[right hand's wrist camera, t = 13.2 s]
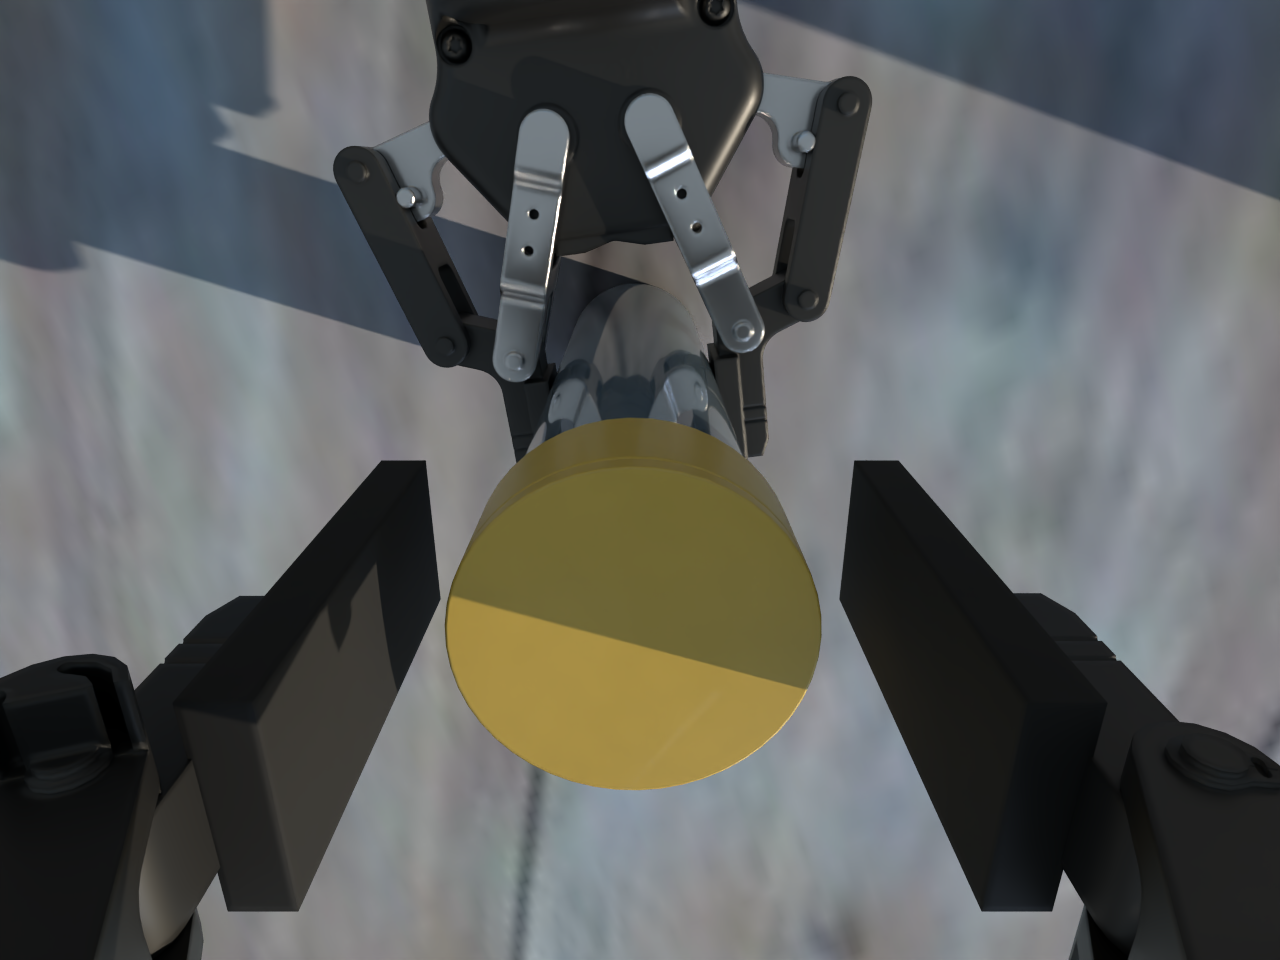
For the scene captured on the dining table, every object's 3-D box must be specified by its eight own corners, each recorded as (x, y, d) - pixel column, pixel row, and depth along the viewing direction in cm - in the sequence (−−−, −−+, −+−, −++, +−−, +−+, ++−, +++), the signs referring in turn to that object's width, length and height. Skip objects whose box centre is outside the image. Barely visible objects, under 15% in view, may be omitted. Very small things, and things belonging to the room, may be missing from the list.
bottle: (620, 256, 28) (592, 409, 10) (724, 333, 29) (861, 594, 11) (547, 361, 29) (411, 656, 12) (648, 431, 30) (666, 801, 13)
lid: (594, 348, 12) (585, 386, 10) (859, 536, 13) (901, 606, 11) (415, 599, 13) (375, 678, 11) (666, 747, 14) (670, 843, 12)
